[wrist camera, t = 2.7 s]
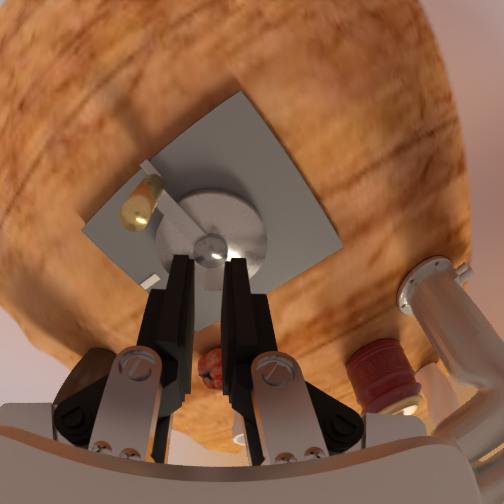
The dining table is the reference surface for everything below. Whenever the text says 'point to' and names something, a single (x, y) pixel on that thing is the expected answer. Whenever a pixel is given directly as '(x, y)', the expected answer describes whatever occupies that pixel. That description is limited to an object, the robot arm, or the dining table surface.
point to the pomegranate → (211, 369)
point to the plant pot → (86, 372)
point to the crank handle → (198, 228)
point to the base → (232, 179)
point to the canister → (384, 379)
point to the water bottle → (437, 392)
